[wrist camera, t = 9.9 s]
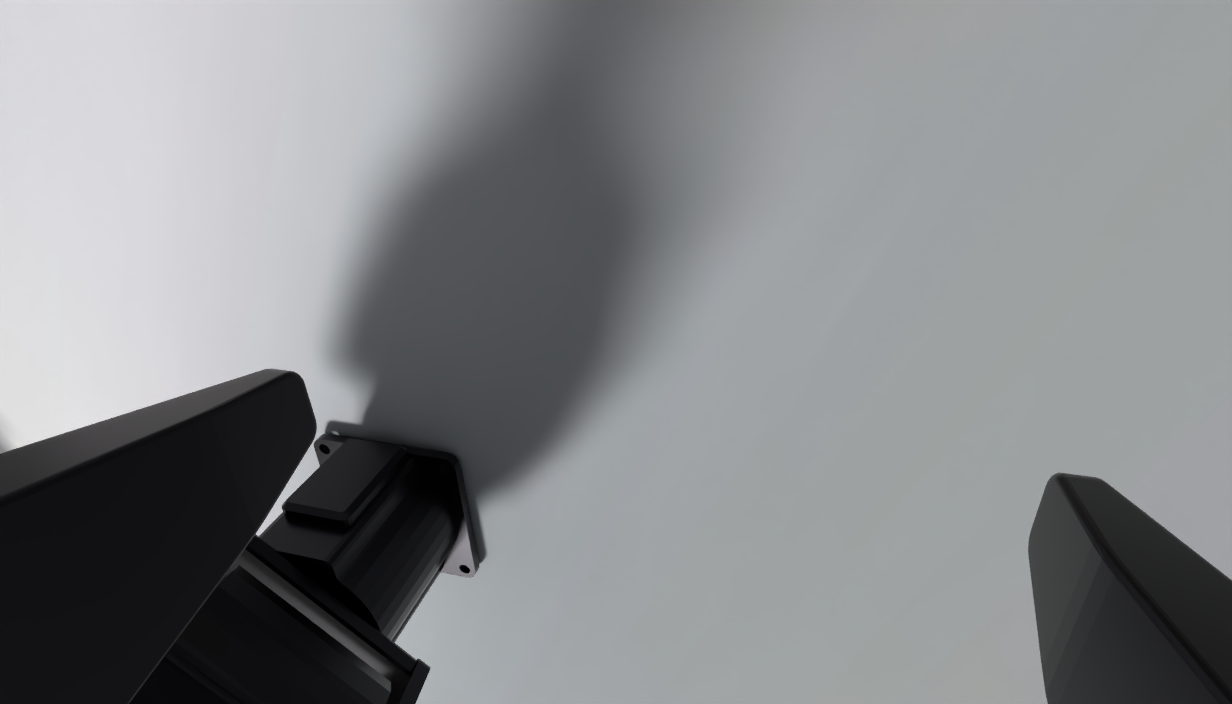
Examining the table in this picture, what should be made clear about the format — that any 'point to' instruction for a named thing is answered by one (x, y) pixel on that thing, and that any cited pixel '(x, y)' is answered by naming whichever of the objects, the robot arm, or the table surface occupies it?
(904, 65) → the table surface
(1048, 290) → the table surface
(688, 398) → the table surface
